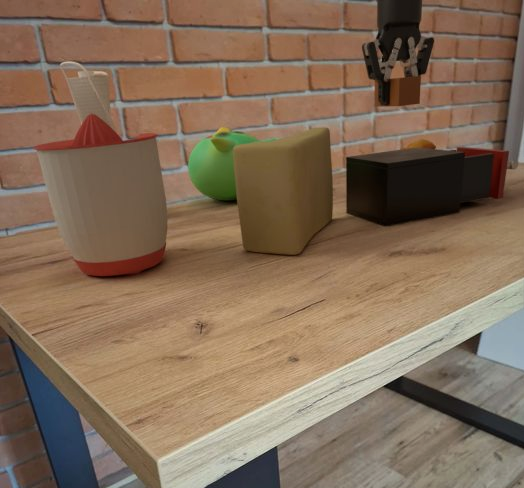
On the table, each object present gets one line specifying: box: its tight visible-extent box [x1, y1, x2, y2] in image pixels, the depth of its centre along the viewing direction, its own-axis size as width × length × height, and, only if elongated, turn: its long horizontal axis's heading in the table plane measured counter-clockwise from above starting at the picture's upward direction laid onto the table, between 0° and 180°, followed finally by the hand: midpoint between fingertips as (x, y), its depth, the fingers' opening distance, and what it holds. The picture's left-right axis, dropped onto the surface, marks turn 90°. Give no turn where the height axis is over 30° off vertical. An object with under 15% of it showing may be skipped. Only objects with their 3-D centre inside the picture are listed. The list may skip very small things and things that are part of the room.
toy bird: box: [187, 126, 282, 201], centre depth 109 cm, size 18×17×15 cm
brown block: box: [374, 75, 422, 108], centre depth 94 cm, size 4×8×4 cm, turn 21°
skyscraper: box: [59, 61, 118, 134], centre depth 95 cm, size 8×8×28 cm
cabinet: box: [345, 147, 465, 227], centre depth 87 cm, size 15×13×10 cm
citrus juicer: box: [33, 114, 168, 277], centre depth 70 cm, size 16×17×20 cm
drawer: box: [448, 146, 519, 204], centre depth 91 cm, size 18×11×8 cm, turn 112°
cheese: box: [233, 126, 334, 256], centre depth 78 cm, size 22×10×15 cm, turn 151°
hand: (396, 103), depth 95 cm, fingers closed on brown block, 4 cm apart
